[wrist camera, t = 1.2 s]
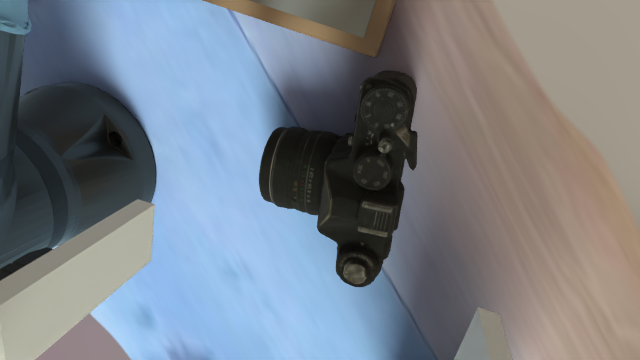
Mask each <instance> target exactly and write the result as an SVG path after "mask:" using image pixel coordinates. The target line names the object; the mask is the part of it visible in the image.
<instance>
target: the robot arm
mask: <svg viewBox="0 0 640 360" xmlns="http://www.w3.org/2000/svg"><path fill="white" fill-rule="evenodd" d="M31 26H32V22H31V21H30V18H29V16H28V0H0V360H35V359H36V358H37V357H39V356H40V355H41V354H42V353H43V352H44V351H46V350H47V349H48V348H49V347H50V346H52V345H53V344H54V343H55V342H56V341H57V340H59V339H60V338H61V337H62V336H63V335H64V334H66V333H67V332H68V331H69V330H70V329H71V328H72V327H74V326H75V325H76V324H77V323H78V322H80V321H81V320H82V319H83V318H84V317H85V316H87V315H88V314H89V313H90V312H91V311H92V310H94V309H95V308H96V307H97V306H98V305H99V304H101V303H102V302H103V301H104V300H105V299H106V298H108V297H109V296H110V295H111V294H112V293H113V292H115V291H116V290H117V289H118V288H119V287H121V286H122V285H123V284H124V283H125V282H126V281H128V280H129V279H130V278H131V277H132V276H133V275H135V274H136V273H137V272H138V271H139V270H140V269H142V268H143V267H144V266H145V265H146V264H147V263H149V262H150V261H151V255H152V239H153V223H154V207H155V204H152V203H151V201H152V198H153V195H154V191H155V184H156V170H155V163H154V158H153V154H152V151H151V148H150V145H149V142H148V140H147V138H146V136H145V134H144V132H143V130H142V129H141V127H140V125H139V124H138V122H137V121H136V120H135V118H134V117H133V116H132V115H131V113H130V112H129V111H128V110H127V109H126V108H125V107H124V106H123V105H122V104H121V103H120V102H118V101H117V100H116V99H115V98H113V97H112V96H110V95H109V94H107V93H106V92H104V91H102V90H100V89H98V88H95V87H93V86H90V85H86V84H82V83H61V84H53V85H46V86H42V87H39V88H36V89H33V90H31V91H29V92H27V93H26V94H25V95H23V96H22V97H20V86H21V75H22V64H23V52H24V43H25V34H28V33H29V32H30V31H31ZM19 97H20V98H19ZM55 246H58V247H56V248H55V249H52V248H53V247H55ZM454 360H513V359H512V356H511V352H510V349H509V346H508V342H507V339H506V335H505V332H504V329H503V325H502V322H501V319H500V315H499V314H498V313H494V312H491V311H488V310H485V309H482V308H479V307H478V308H477V310H476V313H475V315H474V317H473V319H472V321H471V323H470V326H469V328H468V330H467V332H466V334H465V336H464V338H463V341H462V343H461V345H460V347H459V349H458V351H457V354H456V356H455V358H454Z"/></svg>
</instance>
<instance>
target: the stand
mask: <svg viewBox="0 0 640 360" xmlns="http://www.w3.org/2000/svg"><path fill="white" fill-rule="evenodd" d="M203 1H206V2H209V3H212V4H215V5H218V6H221V7H224V8H227V9H230V10H233V11H236V12H239V13H242V14H245V15H248V16H251V17H254V18H257V19H260V20H263V21H266V22H269V23H272V24H275V25H278V26H281V27H284V28H287V29H290V30H293V31H296V32H299V33H302V34H305V35H308V36H311V37H314V38H317V39H320V40H323V41H326V42H329V43H332V44H335V45H338V46H341V47H344V48H347V49H350V50H353V51H356V52H359V53H362V54H365V55H368V56H371V57H375V56H378V53H379V50H380V47H381V44H382V41H383V38H384V35H385V32H386V29H387V27H388V24H389V21H390V18H391V15H392V12H393V9H394V6H395V3H396V0H203Z"/></svg>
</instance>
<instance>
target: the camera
mask: <svg viewBox="0 0 640 360" xmlns="http://www.w3.org/2000/svg"><path fill="white" fill-rule="evenodd" d="M360 88H361V91H360V96H359V102H358V110H357V114H356V115H355V122H356V125H355V132H354V134H353V133H347V134H345V135H344V136H340V135H336V134H333V133H331V132H322V131H308V130H306V129H304V128H298V127H290V128H285V127H279V128H277V129H275V130H274V131H273V132H272V134H271V136H270V137H269V139H268V141H267V144H266V146H265V149H264V152H263V156H262V160H261V166H260V173H259V186H260V192H261V195H262V197H263V199H264V200H266V201H268V202H272V203H274V204H275V205H277V206H278V207H284V208H287V209H296V210H299V211H301V212H306V213H308V214H311V215H318V223H317V228H318V231H319V232H320V233H321V234H323V235H325V236H327V237H328V238H330V239H332V240H334V241H335V242H337V244H338V248H337V260H336V272H337V274H338V275H339V276H340V278H341V279H342V280H343V281H344V282H345V283H347V284H349V285H352V286H354V287H364V286H367V285H369V284H371V283H372V282H373V281H374V279H375V277H377V275H378V274H379V272H380V270H381V267H382V264H383V260H384V259H386V258H387V257H388V255H389V252H390V248H391V242H392V234H393V231H394V230H397V228H398V222H399V216H400V211H401V206H402V201H403V196H404V186H403V184H402V183H401V177H402V173H403V167H404V161H405V159H407V162H408V164H409V166H410V168H411V169H412V170H414V169H415V168H416V165H417V132H416V131H412V130H411V129H410V128H411V122H412V117H413V111H414V106H415V101H416V93H417V88H416V85H415V82H414V81H413V79H412V78H411V77H410V76H408V75H406V74H404V73H401V72H396V71H382V72H380V73H378V74H377V75H375V76H374V77H370V78H368V79H366V80H365V81H364V82H363V84H362V85H360Z"/></svg>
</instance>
